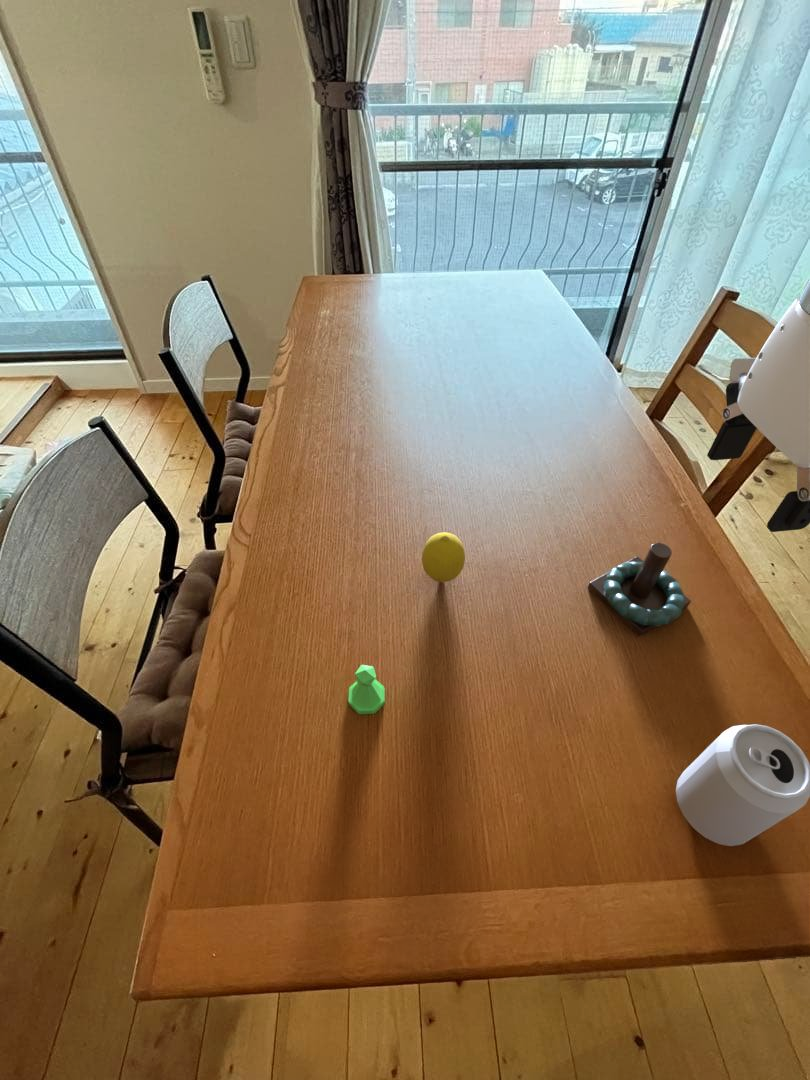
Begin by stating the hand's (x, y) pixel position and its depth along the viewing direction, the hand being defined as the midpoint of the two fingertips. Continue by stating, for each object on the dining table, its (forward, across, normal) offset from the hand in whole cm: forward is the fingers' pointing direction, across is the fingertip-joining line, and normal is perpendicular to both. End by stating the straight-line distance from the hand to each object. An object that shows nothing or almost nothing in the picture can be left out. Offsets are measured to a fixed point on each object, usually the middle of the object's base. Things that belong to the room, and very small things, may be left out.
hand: (751, 490), depth 50 cm
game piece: (+25, -2, +36) cm, 44 cm away
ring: (+22, +6, 0) cm, 23 cm away
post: (+24, +7, 0) cm, 26 cm away
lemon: (+25, +14, +24) cm, 37 cm away
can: (+25, -19, +3) cm, 31 cm away
